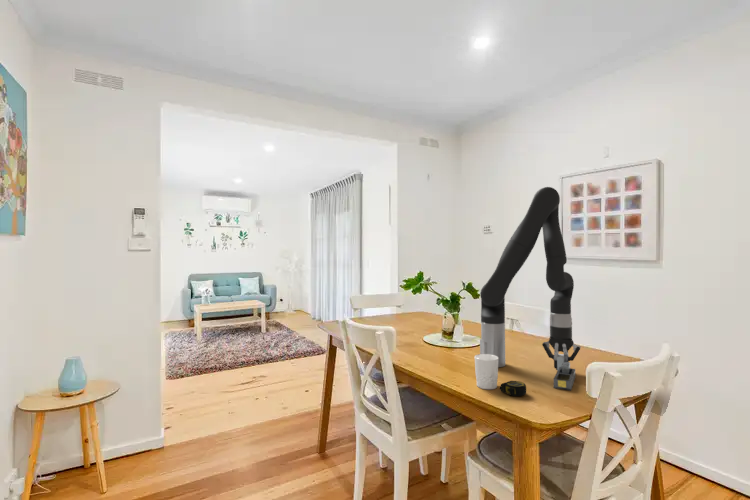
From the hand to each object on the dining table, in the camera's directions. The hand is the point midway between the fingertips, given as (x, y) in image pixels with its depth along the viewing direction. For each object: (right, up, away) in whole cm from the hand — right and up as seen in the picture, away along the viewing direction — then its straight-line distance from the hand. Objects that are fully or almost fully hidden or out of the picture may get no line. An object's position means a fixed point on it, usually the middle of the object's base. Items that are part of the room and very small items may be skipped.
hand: (561, 370), depth 145 cm
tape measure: (-26, -1, -21) cm, 33 cm away
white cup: (-32, -1, -14) cm, 35 cm away
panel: (0, -1, 0) cm, 1 cm away
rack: (-4, -1, -12) cm, 12 cm away
